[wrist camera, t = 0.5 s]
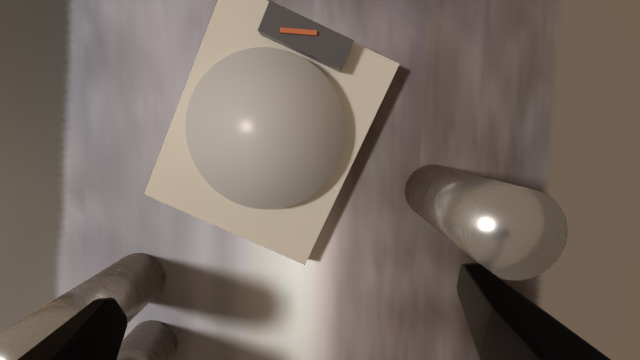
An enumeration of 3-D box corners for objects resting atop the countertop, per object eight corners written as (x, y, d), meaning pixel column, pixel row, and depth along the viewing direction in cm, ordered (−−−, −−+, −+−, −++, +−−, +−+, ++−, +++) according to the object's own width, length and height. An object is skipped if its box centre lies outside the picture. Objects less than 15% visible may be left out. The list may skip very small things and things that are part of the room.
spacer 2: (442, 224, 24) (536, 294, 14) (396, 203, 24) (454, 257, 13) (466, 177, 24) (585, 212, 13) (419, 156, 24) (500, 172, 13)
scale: (305, 258, 25) (303, 271, 23) (152, 191, 24) (134, 197, 22) (395, 67, 23) (403, 60, 21) (230, -11, 22) (219, -28, 20)
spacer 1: (155, 307, 26) (31, 432, 15) (109, 288, 26) (-51, 400, 15) (172, 265, 25) (57, 362, 14) (125, 245, 25) (-28, 328, 14)
